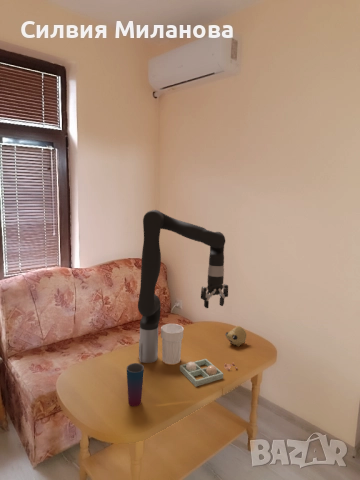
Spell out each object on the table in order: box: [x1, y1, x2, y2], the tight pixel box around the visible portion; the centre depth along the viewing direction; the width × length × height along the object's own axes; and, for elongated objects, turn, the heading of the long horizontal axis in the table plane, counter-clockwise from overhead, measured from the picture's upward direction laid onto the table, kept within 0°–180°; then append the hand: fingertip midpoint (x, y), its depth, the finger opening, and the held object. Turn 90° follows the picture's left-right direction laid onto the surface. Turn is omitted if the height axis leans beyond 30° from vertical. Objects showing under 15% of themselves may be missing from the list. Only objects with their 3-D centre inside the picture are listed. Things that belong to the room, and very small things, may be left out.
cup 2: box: [160, 323, 185, 366], centre depth 161 cm, size 11×11×17 cm
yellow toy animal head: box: [224, 325, 247, 347], centre depth 181 cm, size 10×12×11 cm
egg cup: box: [223, 362, 238, 372], centre depth 157 cm, size 6×6×2 cm
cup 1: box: [126, 362, 145, 407], centre depth 128 cm, size 7×7×15 cm
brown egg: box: [206, 365, 217, 376], centre depth 148 cm, size 5×5×5 cm
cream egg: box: [186, 361, 197, 372], centre depth 151 cm, size 5×5×5 cm
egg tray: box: [179, 358, 224, 387], centre depth 150 cm, size 15×15×3 cm
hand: (214, 306), depth 156 cm, fingers open, 8 cm apart
